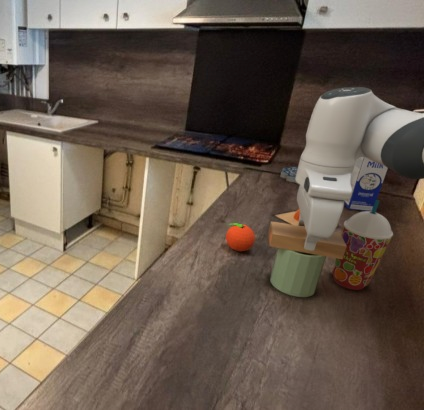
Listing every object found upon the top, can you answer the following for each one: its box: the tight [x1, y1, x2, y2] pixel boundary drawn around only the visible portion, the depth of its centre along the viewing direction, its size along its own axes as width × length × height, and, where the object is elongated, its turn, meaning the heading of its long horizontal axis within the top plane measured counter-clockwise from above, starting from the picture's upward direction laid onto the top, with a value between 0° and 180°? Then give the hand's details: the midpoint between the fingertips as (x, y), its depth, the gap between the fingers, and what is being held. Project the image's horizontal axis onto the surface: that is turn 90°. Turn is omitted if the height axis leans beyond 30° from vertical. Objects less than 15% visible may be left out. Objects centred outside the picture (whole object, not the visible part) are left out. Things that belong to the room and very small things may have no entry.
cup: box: [269, 248, 327, 298], centre depth 78 cm, size 9×9×10 cm
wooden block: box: [267, 221, 347, 259], centre depth 75 cm, size 6×13×3 cm, turn 67°
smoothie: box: [331, 199, 394, 291], centre depth 76 cm, size 8×8×20 cm
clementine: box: [224, 222, 256, 252], centre depth 93 cm, size 8×7×7 cm
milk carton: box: [344, 157, 389, 212], centre depth 115 cm, size 7×7×20 cm
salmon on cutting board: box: [274, 208, 339, 227], centre depth 108 cm, size 12×12×4 cm
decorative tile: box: [279, 165, 300, 186], centre depth 143 cm, size 20×20×2 cm
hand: (305, 238), depth 75 cm, fingers open, 8 cm apart
